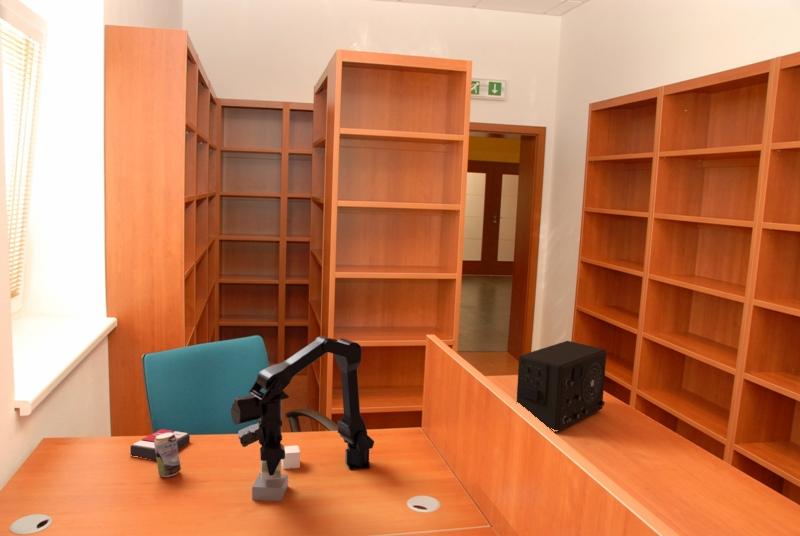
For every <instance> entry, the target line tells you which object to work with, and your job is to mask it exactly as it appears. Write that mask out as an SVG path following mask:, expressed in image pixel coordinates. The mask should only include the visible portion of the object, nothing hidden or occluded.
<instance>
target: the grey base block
mask: <svg viewBox="0 0 800 536" xmlns="http://www.w3.org/2000/svg"><path fill="white" fill-rule="evenodd" d="M288 488H289V474H288V473H281V478H271V479H262V477H261V472H259V473H258V475H257V478H255V481H254V483H253V484H252V486H251V497H252V498H251V500H252V501H268V502H269V501H271V502H272V501H273V502H283V499H284V496H285V494H286V492H287V489H288Z"/></svg>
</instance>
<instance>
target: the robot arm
mask: <svg viewBox="0 0 800 536" xmlns="http://www.w3.org/2000/svg"><path fill="white" fill-rule="evenodd" d="M362 351H363V349H362V345H360V344H359V343H358V342H355V341H353V340H350V339H347V338H344V337H342V338H339V339H335V338H330V337H327V336H325V335H319V336H318V337H316V338H315V340H313V341H312V342H311V343H309V344H308V345H306V346H305V347H303V348H302V349H300V350H298V351H297V352H296V353H294V354H293V355H292V356H290V357H289V358H287V359H286V360H284V361H282V362H280V363H275V364H272V365H269V366H267V367H266V368H264V369H262V370H260V371H259V372H258V374H257V377H256V380H255V382H254V383H253V385H252V386H251V388H250V389H249V391H248V396H242V397H240V396H239V397H235V398H234V402H233V403H232V405H231V408H230V417H231V419H232V422H233V424H234V425H236V426H239V425H243V424H247V423H251V422H255V421H257V423H255V424H251V425H248V426H246V427H244V428H242V429H240V430H238V433H237V434H238V435H237V436H238V437H237V438H238V439H239V441H240V444H241V446H242V447H243V448H246V447H249V445H251V444H254V443H255V442H258V444H259V445H260V448H259V458H260V462H261V461H266V462H267V467H268V472H269V475H274V473H275V470H276V468H277V466H278V464H279V462H280V460H282V459H284V458H285V449H284V445H283V444H282V443H281V442H282V441H283V435H282V426H283V419H282V400H286V399H289V398H290V395H288V394H287V393H286V392H285V391H284V390H285V389H286V388H287V387H288V386H289V385H290V383H291V382H292V379H293V378H294V377H295V376H296V375H297V374H299V373H301V372H302V371H304V370H305V369H306V368H307V367H309V366H310V365H311V364H313V363H315V361H316V362H317V360H319V359H320V358H322V357H323V356H324V355H326V354H328V353H330V354H333V356H334V359H335V362H336V364H337V365H338V368H339V371H340V380H341V395H342V406H343V408H342V409H343V415H342V418H341V419H339V420H337V423H336V424H337V433H338V434H339V437H341V438H342V439H343V442H344V443H346V444H347V448H345V454H344V455H345V457H344V458H345V464H346V466H348V469H349V470H359V469H360V470H361V469H369V468H371V464H370V450H371V449H373V448H374V444H375V440H374V439H373V438H371V437H370V436H369V435H368V430H367V426H366V422H365V421H364V419H363V417H362V415H361V411H360V410H361V408H360V395H359V394H360V393H359V381H358V380H359V378H358V377H359V376H358V369H359V366H360V364H361V362H362V353H363V352H362ZM261 390H262V391H265V393H264V392H262V391H261Z"/></svg>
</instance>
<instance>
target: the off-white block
mask: <svg viewBox="0 0 800 536" xmlns="http://www.w3.org/2000/svg"><path fill="white" fill-rule="evenodd" d="M283 446H284V445H283ZM284 449H285V458H284V459H281V468H282V470H292V469H299V468H300V469H301V451H300V447H299V445H285V446H284ZM291 468H292V469H291Z"/></svg>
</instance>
